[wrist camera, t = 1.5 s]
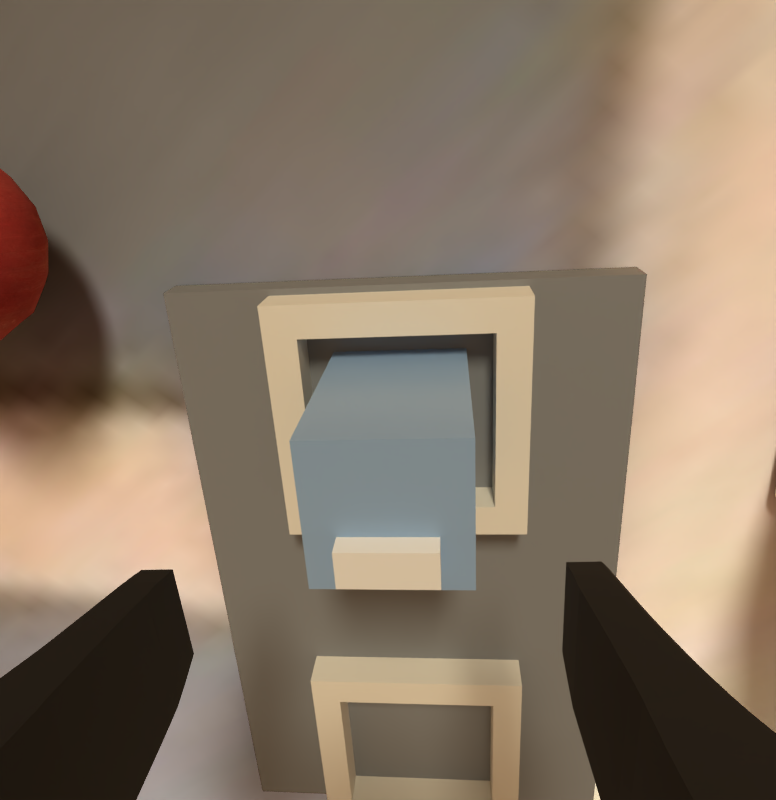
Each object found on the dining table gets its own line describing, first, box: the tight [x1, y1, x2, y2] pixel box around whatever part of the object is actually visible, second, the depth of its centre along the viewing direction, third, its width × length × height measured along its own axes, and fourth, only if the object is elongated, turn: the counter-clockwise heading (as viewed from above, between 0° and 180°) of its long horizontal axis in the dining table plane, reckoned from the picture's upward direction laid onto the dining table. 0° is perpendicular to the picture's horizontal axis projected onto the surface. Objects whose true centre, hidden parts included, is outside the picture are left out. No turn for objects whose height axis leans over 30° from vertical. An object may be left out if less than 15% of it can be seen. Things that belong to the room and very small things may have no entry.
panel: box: [163, 267, 647, 800], centre depth 22 cm, size 14×22×2 cm, turn 3°
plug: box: [289, 348, 476, 590], centre depth 17 cm, size 4×4×7 cm
